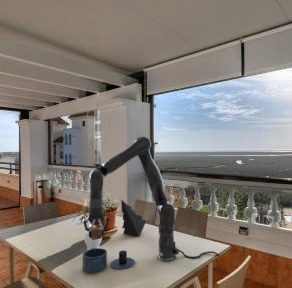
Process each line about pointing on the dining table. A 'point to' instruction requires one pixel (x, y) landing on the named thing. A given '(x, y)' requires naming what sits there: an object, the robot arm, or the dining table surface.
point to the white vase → (91, 241)
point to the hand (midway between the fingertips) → (96, 237)
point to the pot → (94, 260)
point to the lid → (122, 261)
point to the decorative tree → (131, 221)
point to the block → (96, 233)
